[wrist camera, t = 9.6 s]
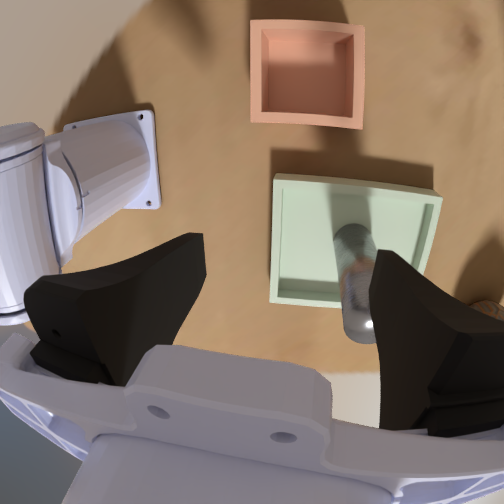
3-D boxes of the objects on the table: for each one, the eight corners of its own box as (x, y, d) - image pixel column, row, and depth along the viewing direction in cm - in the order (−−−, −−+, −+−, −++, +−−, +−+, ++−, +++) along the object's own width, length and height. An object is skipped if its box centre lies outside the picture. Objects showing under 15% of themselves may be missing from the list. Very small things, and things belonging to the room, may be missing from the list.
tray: (272, 289, 26) (269, 302, 24) (275, 173, 21) (273, 179, 19) (405, 299, 24) (410, 311, 22) (433, 189, 19) (442, 197, 17)
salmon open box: (260, 118, 19) (250, 122, 16) (260, 34, 16) (250, 20, 13) (351, 124, 18) (362, 129, 15) (353, 39, 15) (364, 26, 12)
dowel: (332, 259, 23) (340, 344, 15) (333, 223, 21) (346, 299, 13) (370, 259, 22) (394, 342, 14) (373, 223, 21) (406, 298, 13)
